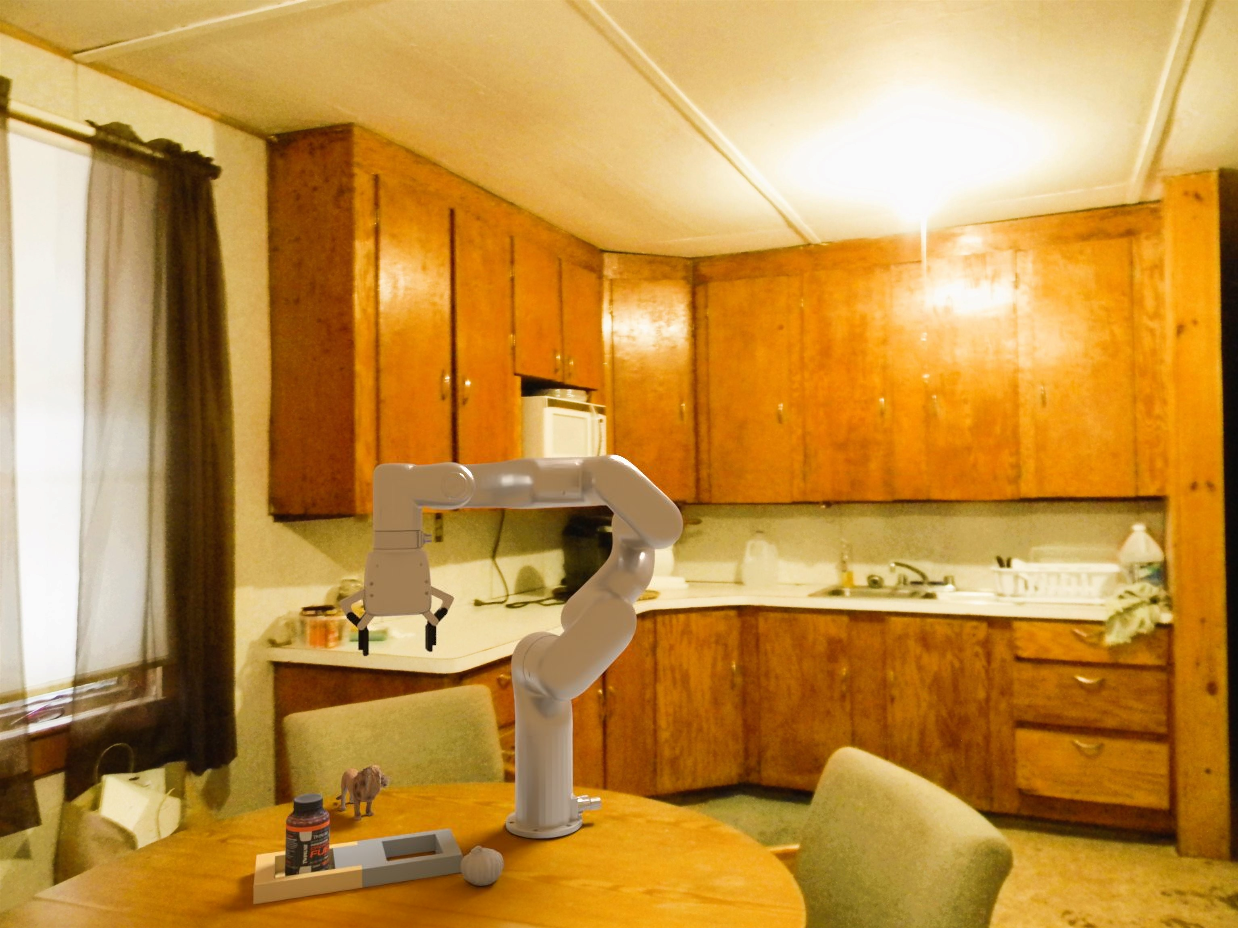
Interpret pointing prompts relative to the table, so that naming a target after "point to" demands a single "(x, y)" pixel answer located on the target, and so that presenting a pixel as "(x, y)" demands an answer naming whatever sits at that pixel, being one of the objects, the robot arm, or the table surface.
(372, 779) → the lion figurine
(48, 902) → the table surface
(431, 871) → the beige and grey tray
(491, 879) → the garlic
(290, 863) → the supplement bottle
